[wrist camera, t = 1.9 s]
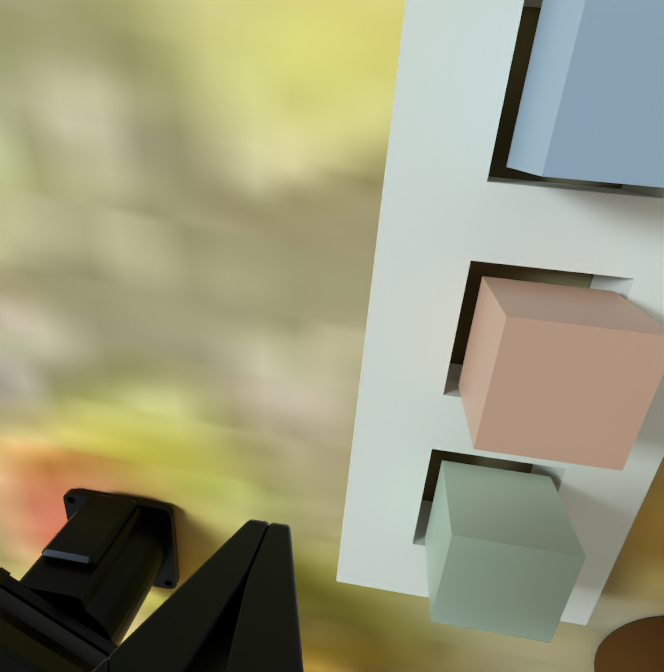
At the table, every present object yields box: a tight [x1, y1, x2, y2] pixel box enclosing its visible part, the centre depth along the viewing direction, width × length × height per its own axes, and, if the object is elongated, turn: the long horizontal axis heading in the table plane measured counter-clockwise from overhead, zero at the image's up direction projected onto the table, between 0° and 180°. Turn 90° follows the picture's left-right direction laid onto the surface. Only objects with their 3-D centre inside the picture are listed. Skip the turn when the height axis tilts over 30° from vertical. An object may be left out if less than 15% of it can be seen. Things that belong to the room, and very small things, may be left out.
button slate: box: [506, 0, 664, 188], centre depth 12 cm, size 4×4×4 cm
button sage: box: [425, 460, 586, 643], centre depth 18 cm, size 4×4×4 cm
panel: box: [336, 0, 664, 625], centre depth 18 cm, size 28×12×3 cm, turn 175°
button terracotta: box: [458, 276, 664, 471], centre depth 15 cm, size 4×4×4 cm
